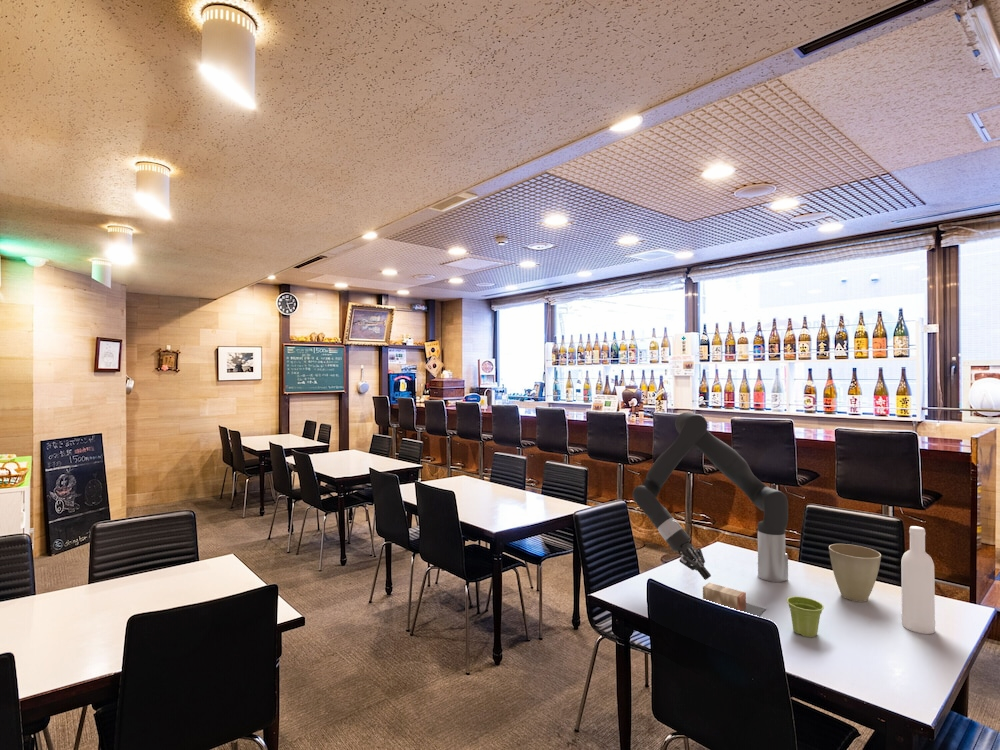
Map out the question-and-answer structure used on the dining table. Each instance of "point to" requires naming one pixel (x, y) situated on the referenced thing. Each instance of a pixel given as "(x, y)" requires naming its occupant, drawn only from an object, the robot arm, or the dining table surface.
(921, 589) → the bottle
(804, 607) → the plant pot
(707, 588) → the oak block
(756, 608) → the slate mat
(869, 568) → the plant pot
